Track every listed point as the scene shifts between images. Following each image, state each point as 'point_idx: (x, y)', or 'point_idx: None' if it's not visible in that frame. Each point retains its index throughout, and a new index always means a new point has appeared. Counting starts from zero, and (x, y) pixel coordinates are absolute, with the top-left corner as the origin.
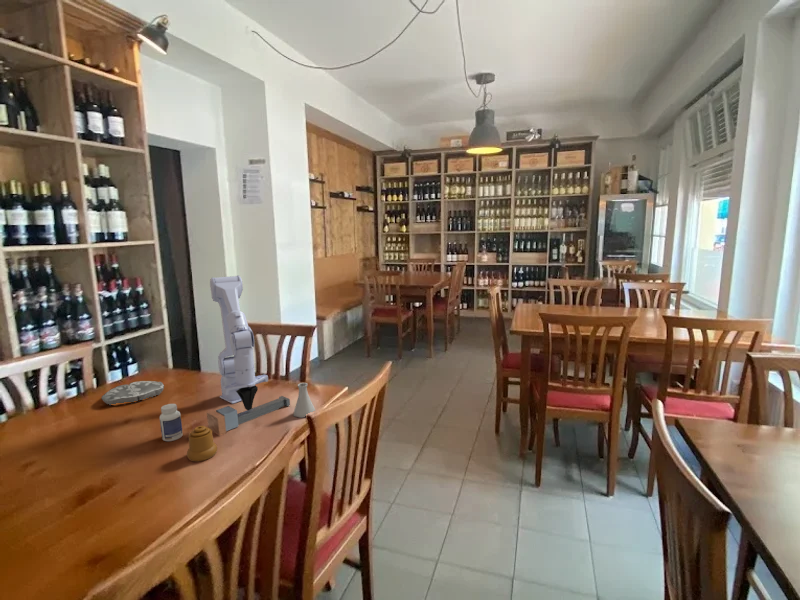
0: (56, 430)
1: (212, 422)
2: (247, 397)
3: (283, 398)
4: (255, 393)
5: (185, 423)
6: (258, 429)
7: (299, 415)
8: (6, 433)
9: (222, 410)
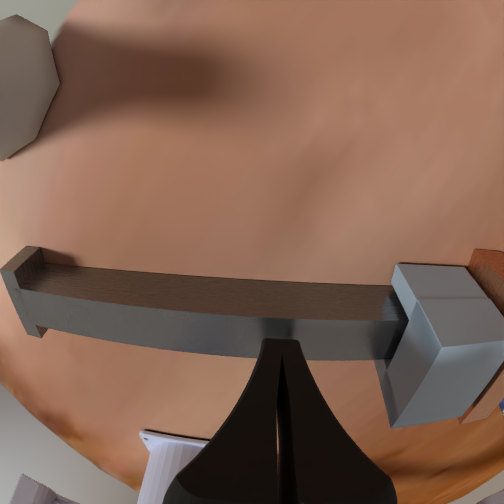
0: (480, 474)
1: None
2: (323, 438)
3: (24, 303)
4: (211, 446)
5: (428, 424)
6: (352, 106)
7: (39, 43)
8: (488, 480)
9: (461, 398)
